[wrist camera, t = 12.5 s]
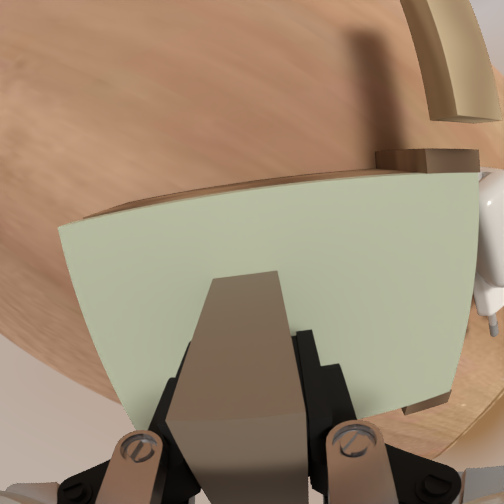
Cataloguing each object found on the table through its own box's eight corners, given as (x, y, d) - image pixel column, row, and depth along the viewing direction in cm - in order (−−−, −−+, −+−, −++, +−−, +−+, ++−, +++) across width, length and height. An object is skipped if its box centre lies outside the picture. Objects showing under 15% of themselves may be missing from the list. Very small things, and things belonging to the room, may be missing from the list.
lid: (143, 423, 15) (104, 532, 7) (69, 222, 12) (-71, 287, 4) (442, 381, 14) (505, 474, 6) (465, 170, 11) (607, 197, 3)
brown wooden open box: (174, 376, 21) (150, 435, 15) (124, 186, 17) (65, 200, 11) (413, 349, 19) (447, 402, 13) (418, 150, 15) (478, 149, 10)
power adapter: (503, 287, 18) (547, 319, 12) (461, 322, 19) (501, 363, 13) (465, 157, 15) (525, 162, 10) (415, 191, 16) (470, 206, 11)
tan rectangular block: (430, 120, 9) (457, 114, 7) (370, -65, 7) (381, -87, 5) (473, 123, 9) (502, 120, 7) (414, -56, 6) (428, -75, 4)
